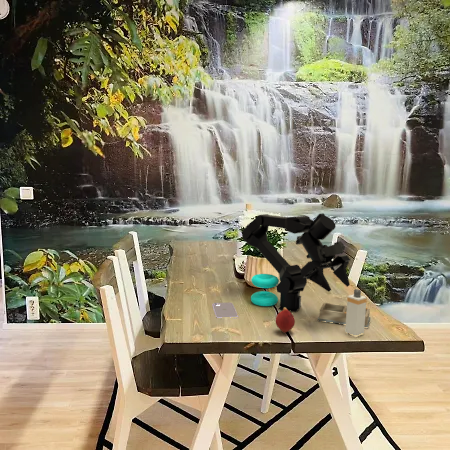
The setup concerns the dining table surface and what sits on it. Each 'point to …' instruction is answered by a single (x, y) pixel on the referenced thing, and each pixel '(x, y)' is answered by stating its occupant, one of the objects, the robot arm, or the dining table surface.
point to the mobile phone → (224, 310)
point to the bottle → (355, 313)
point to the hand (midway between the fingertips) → (339, 288)
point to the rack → (337, 314)
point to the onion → (285, 320)
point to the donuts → (264, 296)
